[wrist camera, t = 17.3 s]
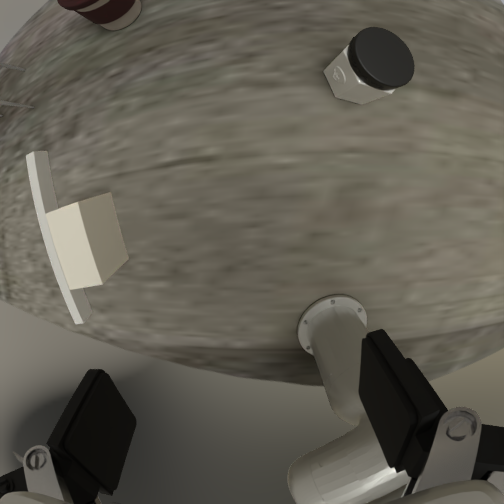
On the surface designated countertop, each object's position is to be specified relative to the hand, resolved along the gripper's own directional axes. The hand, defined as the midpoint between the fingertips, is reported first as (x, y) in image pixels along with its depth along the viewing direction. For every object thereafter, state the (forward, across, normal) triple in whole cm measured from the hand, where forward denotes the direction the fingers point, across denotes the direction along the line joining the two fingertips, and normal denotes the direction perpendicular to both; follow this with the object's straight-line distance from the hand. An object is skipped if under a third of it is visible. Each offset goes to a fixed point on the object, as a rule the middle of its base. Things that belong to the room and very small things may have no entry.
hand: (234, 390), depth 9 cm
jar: (+34, -20, -18) cm, 43 cm away
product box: (+33, +22, -2) cm, 40 cm away
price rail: (+33, +31, -3) cm, 46 cm away
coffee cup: (+34, +13, -38) cm, 52 cm away
